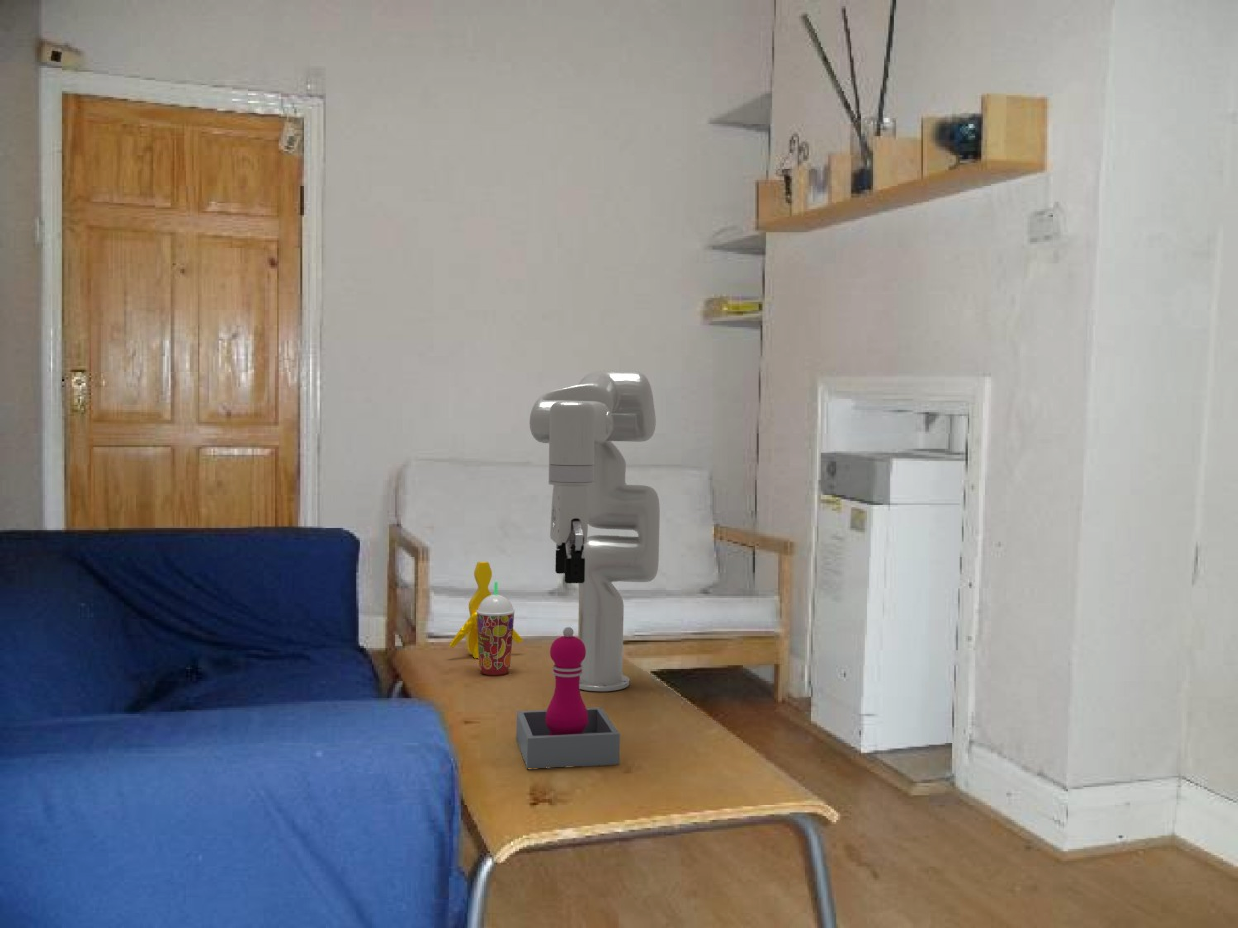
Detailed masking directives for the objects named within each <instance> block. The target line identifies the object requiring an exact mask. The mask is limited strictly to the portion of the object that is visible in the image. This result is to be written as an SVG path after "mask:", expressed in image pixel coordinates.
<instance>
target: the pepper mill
mask: <svg viewBox="0 0 1238 928" xmlns="http://www.w3.org/2000/svg"><path fill="white" fill-rule="evenodd" d="M574 633H575V632H574V629H573V628H572V627H571V626H567V627H565V628H563V631H562V634H563V636H560V637H557V638H555V639H554V641H553V642H552V643H551V646H550V650H549V655H550V658H551V660H552V661H553V663H554V664H553V665H552V669H553V670H552V675H554V677H555V686H554V687H555V688H554V691H553V695H552V698H551V700H550V702H549V705H548V707H547V709H546V710H547V712H546V718H545V723H546V725H547V727H548V728H549V730H550V731H551V733H549V734H548V735H569V734H584V733H582V731H583V730H584V729H585V728H586V726H587V724H588V713H587V709H586V708H587V707H586V704H585V702H584V700H583V698H582V695H581V689H579V680H580V675H581V674H582V673H583V672H582V668H583V666H582V665H580V664H581V662H582V661H583V660H584V658H585V656H586V649H585V645H584V643H583V642H582V641H581V640H580V639H579V638H578V636H574Z"/></svg>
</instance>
